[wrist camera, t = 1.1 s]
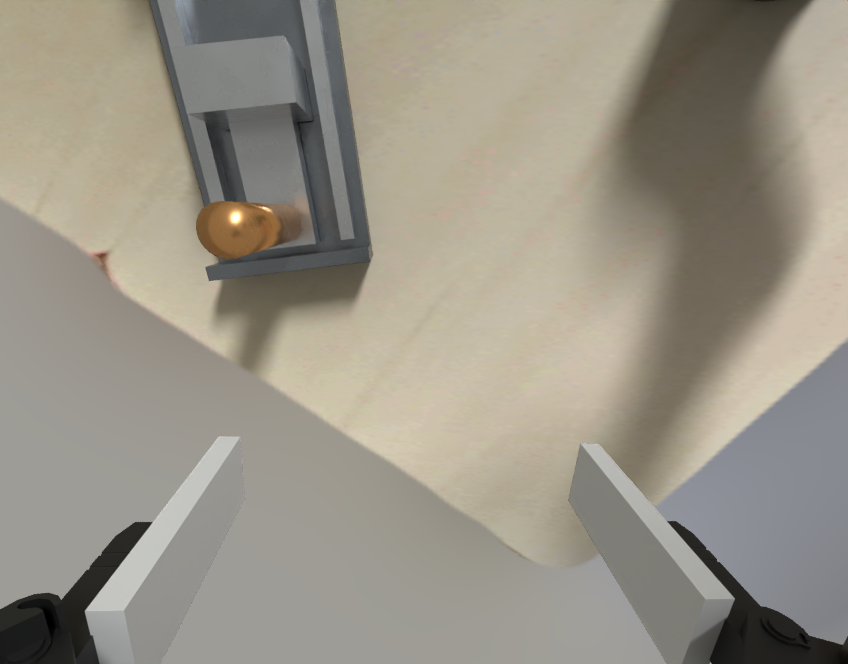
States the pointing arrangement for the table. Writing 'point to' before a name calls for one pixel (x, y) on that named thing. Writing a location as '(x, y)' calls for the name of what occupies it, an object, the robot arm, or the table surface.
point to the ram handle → (253, 141)
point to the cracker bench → (321, 138)
